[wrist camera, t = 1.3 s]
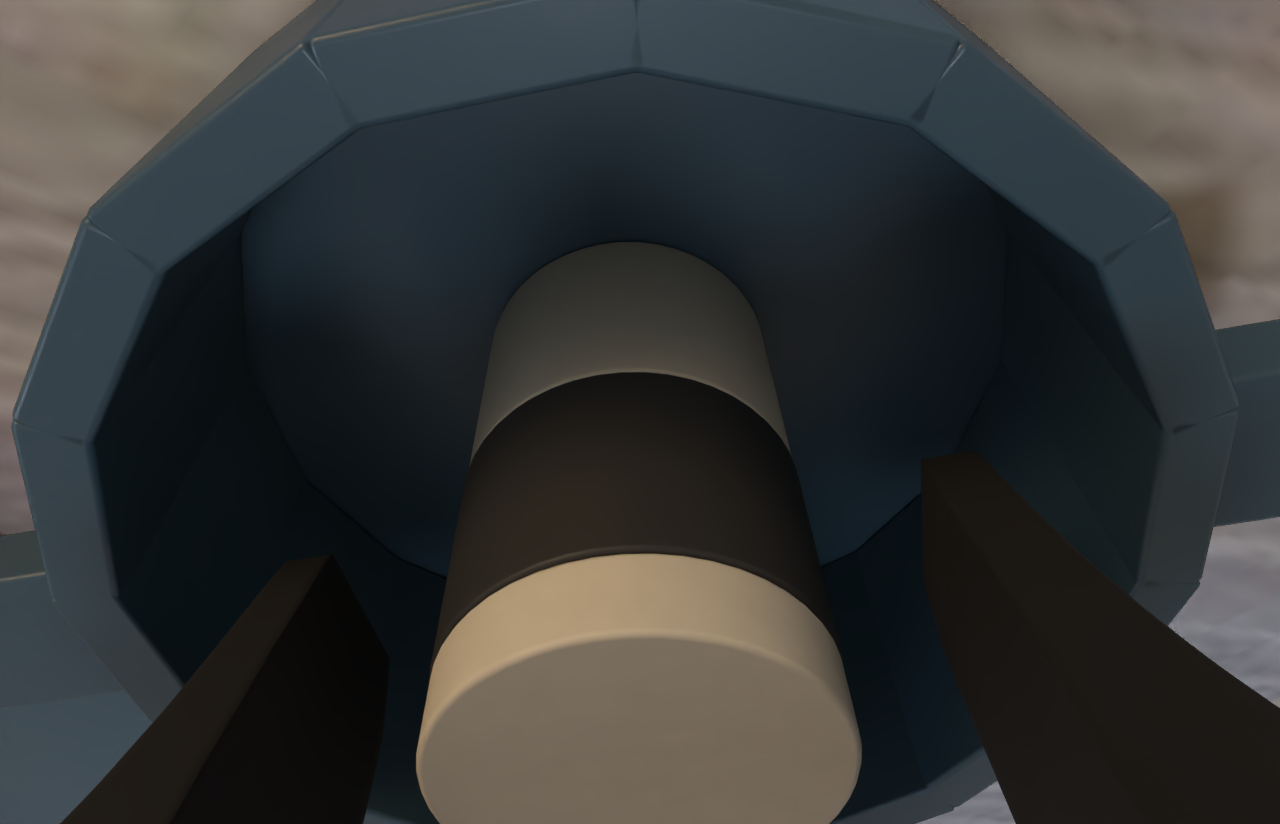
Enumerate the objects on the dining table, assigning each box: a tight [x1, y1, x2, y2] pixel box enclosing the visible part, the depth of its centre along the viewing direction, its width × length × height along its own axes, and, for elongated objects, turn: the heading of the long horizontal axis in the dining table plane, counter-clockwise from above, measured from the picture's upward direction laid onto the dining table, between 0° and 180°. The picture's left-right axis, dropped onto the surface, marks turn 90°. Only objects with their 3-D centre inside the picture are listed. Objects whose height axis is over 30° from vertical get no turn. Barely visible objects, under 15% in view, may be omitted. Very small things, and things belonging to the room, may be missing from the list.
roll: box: [416, 242, 862, 824], centre depth 12 cm, size 4×4×8 cm
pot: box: [0, 0, 1280, 824], centre depth 14 cm, size 14×19×6 cm
